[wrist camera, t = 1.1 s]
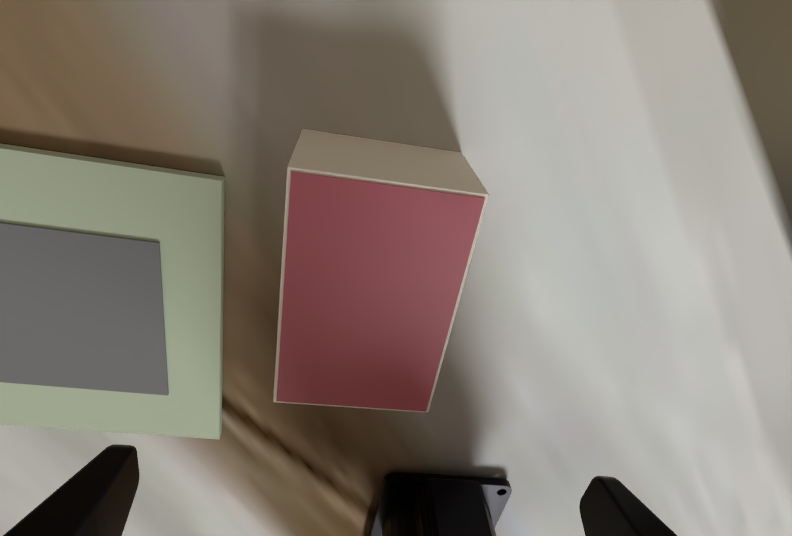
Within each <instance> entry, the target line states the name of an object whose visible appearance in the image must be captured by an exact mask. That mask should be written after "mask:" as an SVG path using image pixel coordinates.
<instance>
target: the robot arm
mask: <svg viewBox="0 0 792 536" xmlns="http://www.w3.org/2000/svg"><path fill="white" fill-rule="evenodd" d="M138 483H139V467H138V458H137V450H136V448H135V447H134V446H131V445H111V446H109V447H107V448H106V449H104V450H103V451H102V452H101V453H100V454H99V455H97V456H96V457H95V458H94V459H93V460H92V461H90V462H89V463H88V464H87V465H86V466H84V467H83V468H82V469H81V470H80V471H79V472H77V473H76V474H75V475H74V476H73V477H72V478H70V479H69V480H68V481H67V482H66V483H64V484H63V485H62V486H61V487H60V488H59V489H57V490H56V491H55V492H54V493H53V494H52V495H50V496H49V497H48V498H47V499H46V500H44V501H43V502H42V503H41V504H40V505H39V506H37V507H36V508H35V509H34V510H33V511H32V512H30V513H29V514H28V515H27V516H26V517H24V518H23V519H22V520H21V521H20V522H19V523H17V524H16V525H15V526H14V527H13V528H12V529H10V530H9V531H8V532H7V533H6V534H5V535H3V536H122V533H123V530H124V527H125V524H126V521H127V518H128V515H129V512H130V509H131V506H132V503H133V500H134V497H135V494H136V491H137V487H138ZM511 491H512V490H511V487H510V483H509V481H507V480H506V479H497V478H480V477H464V476H447V475H431V474H414V473H397V472H394V473H389V474H387V475H386V476H385V477H384V480H383V484H382V488H381V491H380V495H379V499H378V503H377V506H376V510H375V514H374V518H373V521H372V525H371V529H370V533H369V536H496V533H495V529H494V528H495V526H496V524H497V522H498V520H499V518H500V515H501V513H502V511H503V509H504V507H505V505H506V503H507V501H508V499H509V496H510V494H511ZM580 514H581V518H582V523H583V527H584V531H585V535H586V536H677V535H676V534H675V533H674V532H673V531H672V530H671V529H670V528H668V527H667V526H666V525H665V524H664V523H663V522H662V521H661V520H660V519H659V518H658V517H657V516H656V515H655V514H654V513H653V512H652V511H651V510H649V509H648V508H647V507H646V506H645V505H644V504H643V503H642V502H641V501H640V500H639V499H638V498H637V497H636V496H635V495H634V494H633V493H632V492H630V491H629V490H628V489H627V488H626V487H625V486H624V485H623V484H622V483H621V482H620V481H619V480H617V479H616V478H614V477H606V476H596V477H594V478H593V479H592V481H591V483H590V484H589V486H588V488H587V489H586V491H585V493H584V495H583V496H582V498H581V501H580Z"/></svg>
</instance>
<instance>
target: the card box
mask: <svg viewBox="0 0 792 536" xmlns="http://www.w3.org/2000/svg"><path fill="white" fill-rule="evenodd" d="M488 198H489V194H488V192H487V190H486V189H485V187H484V186H483V184H482V183H481V181H480V180H479V178H478V177H477V175H476V174H475V172H474V171H473V169H472V168H471V166H470V165H469V163H468V162H467V160H466V158H465V157H464V155H463V154H462V153H461V152H454V151H448V150H441V149H434V148H428V147H421V146H414V145H408V144H401V143H394V142H388V141H381V140H375V139H368V138H361V137H355V136H348V135H341V134H335V133H328V132H322V131H315V130H308V129H302V131H301V134H300V136H299V139H298V141H297V144H296V146H295V149H294V151H293V154H292V156H291V159H290V161H289V164H288V167H287V182H286V199H285V215H284V232H283V249H282V265H281V282H280V299H279V315H278V332H277V349H276V365H275V382H274V398H273V402H278V403H292V404H307V405H322V406H336V407H351V408H365V409H380V410H395V411H409V412H424V413H428V412H429V408H430V404H431V401H432V397H433V394H434V390H435V387H436V383H437V379H438V376H439V372H440V369H441V365H442V362H443V358H444V355H445V351H446V347H447V344H448V340H449V337H450V333H451V330H452V326H453V322H454V319H455V315H456V312H457V308H458V305H459V301H460V297H461V294H462V290H463V287H464V283H465V280H466V276H467V272H468V269H469V265H470V262H471V258H472V255H473V251H474V247H475V244H476V240H477V237H478V233H479V230H480V226H481V222H482V219H483V215H484V212H485V208H486V205H487V201H488Z"/></svg>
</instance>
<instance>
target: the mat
mask: <svg viewBox="0 0 792 536" xmlns="http://www.w3.org/2000/svg"><path fill="white" fill-rule="evenodd" d="M224 200H225V177H223V176H216V175H209V174H203V173H196V172H189V171H183V170H176V169H169V168H162V167H156V166H149V165H142V164H135V163H129V162H122V161H115V160H109V159H102V158H95V157H88V156H82V155H75V154H68V153H61V152H55V151H48V150H41V149H34V148H28V147H21V146H14V145H8V144H1V143H0V425H14V426H29V427H44V428H59V429H74V430H89V431H103V432H118V433H133V434H148V435H163V436H178V437H193V438H208V439H220V435H221V432H222V356H223V278H224Z"/></svg>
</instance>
